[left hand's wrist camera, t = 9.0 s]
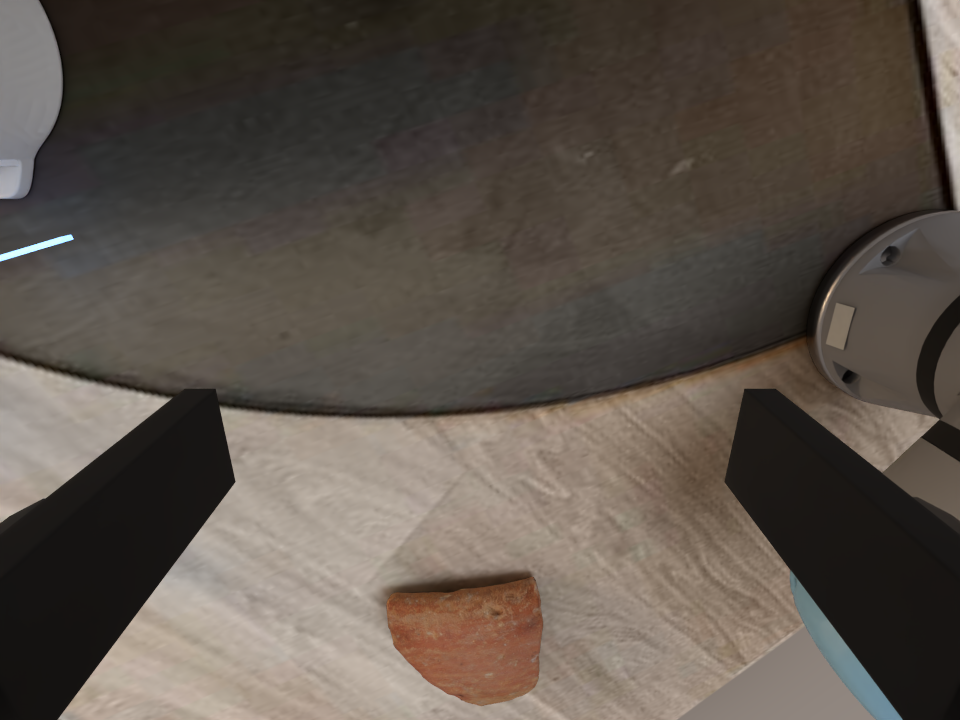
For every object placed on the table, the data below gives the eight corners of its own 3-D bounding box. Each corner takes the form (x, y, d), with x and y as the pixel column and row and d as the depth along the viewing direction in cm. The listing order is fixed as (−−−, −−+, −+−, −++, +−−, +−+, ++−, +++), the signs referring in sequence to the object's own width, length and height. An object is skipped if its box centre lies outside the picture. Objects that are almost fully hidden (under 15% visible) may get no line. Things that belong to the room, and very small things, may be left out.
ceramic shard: (404, 736, 51) (380, 609, 47) (420, 680, 57) (399, 564, 53) (553, 741, 48) (539, 609, 45) (552, 682, 55) (540, 562, 51)
